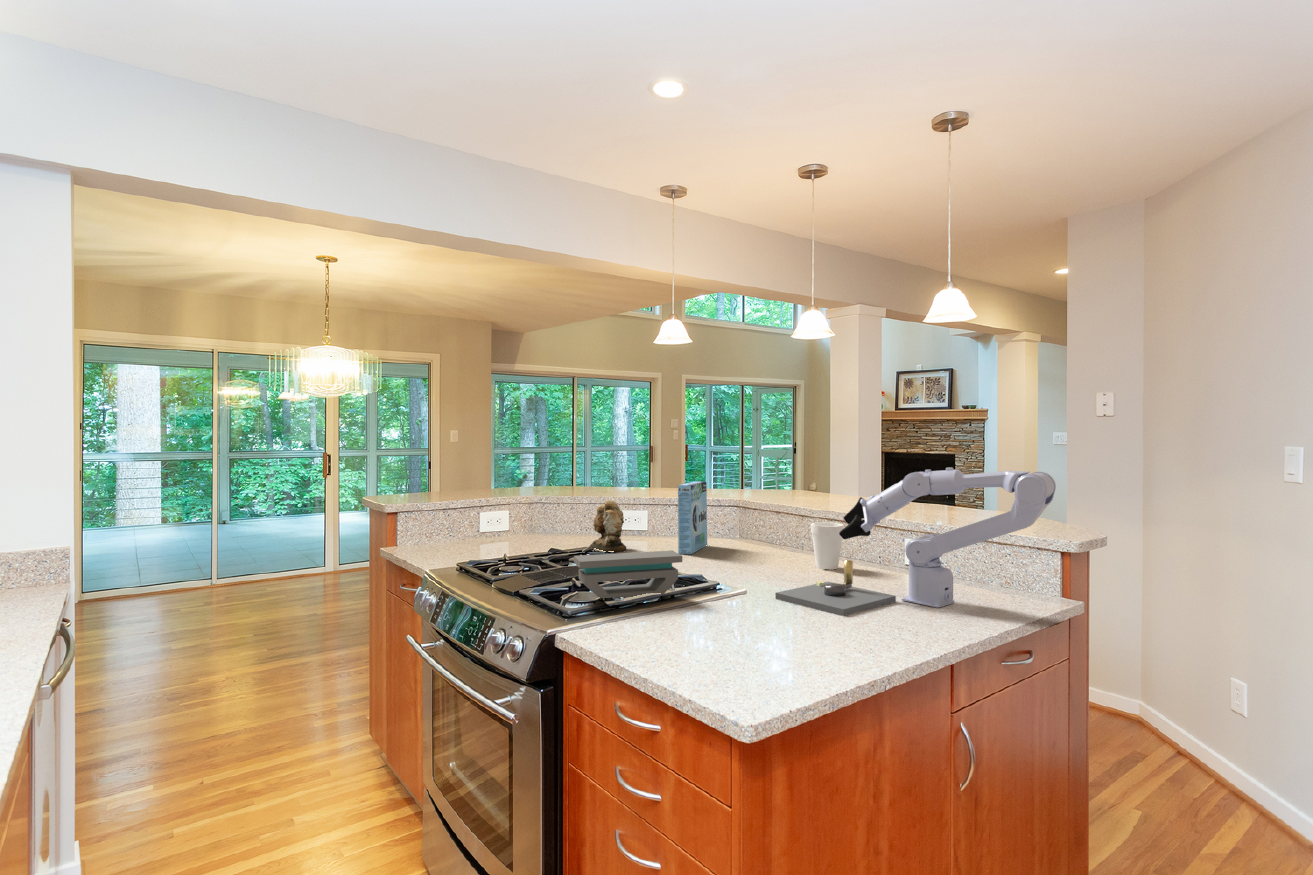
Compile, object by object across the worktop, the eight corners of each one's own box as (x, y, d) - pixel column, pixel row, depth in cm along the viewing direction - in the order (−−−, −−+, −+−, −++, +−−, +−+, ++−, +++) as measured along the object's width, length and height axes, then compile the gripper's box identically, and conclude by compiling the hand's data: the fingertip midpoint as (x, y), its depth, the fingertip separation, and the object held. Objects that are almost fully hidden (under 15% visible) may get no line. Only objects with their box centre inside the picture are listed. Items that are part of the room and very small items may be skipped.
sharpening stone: (672, 593, 175) (672, 550, 175) (682, 600, 168) (682, 555, 168) (574, 600, 168) (573, 555, 168) (579, 608, 161) (579, 561, 161)
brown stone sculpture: (582, 546, 246) (582, 498, 246) (612, 544, 252) (612, 497, 252) (601, 554, 230) (601, 502, 230) (633, 551, 236) (634, 501, 236)
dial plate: (895, 601, 166) (895, 592, 166) (843, 615, 154) (843, 605, 153) (827, 587, 182) (827, 578, 182) (775, 598, 169) (775, 589, 169)
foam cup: (807, 569, 205) (807, 525, 204) (815, 564, 213) (815, 521, 213) (839, 572, 200) (839, 527, 200) (846, 566, 208) (846, 523, 208)
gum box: (691, 554, 229) (691, 485, 229) (677, 554, 231) (676, 485, 230) (707, 545, 247) (707, 481, 247) (694, 544, 249) (694, 481, 249)
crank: (839, 597, 164) (839, 567, 164) (820, 593, 167) (820, 564, 167) (859, 589, 172) (859, 561, 172) (841, 586, 175) (841, 558, 175)
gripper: (879, 477, 178) (837, 503, 185) (873, 505, 166) (829, 531, 173) (897, 497, 178) (855, 522, 186) (892, 526, 166) (847, 552, 173)
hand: (843, 528), depth 179 cm, fingers open, 7 cm apart
